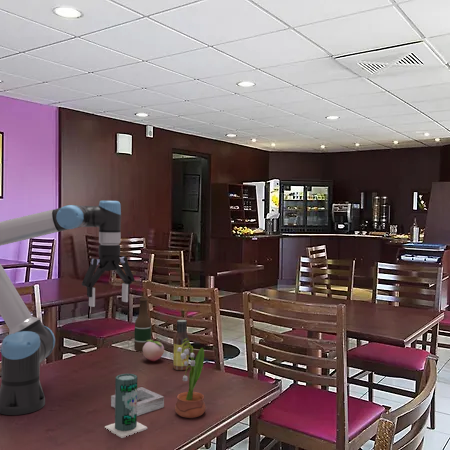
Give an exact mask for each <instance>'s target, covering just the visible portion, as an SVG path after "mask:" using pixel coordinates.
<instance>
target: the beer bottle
mask: <svg viewBox="0 0 450 450" xmlns="http://www.w3.org/2000/svg"><path fill="white" fill-rule="evenodd" d="M138 311H139V312H138V316H137V317H136V319H135V322H134V337H133V338H134V340H133V341H134V344H133V345H134V351H136V352H139V353H143V346H144V345H145V344H146V343H147V342H148V341H147V340H152V320H151V318H150V317H149V315H148V298H147V297H141V298H139V310H138ZM146 341H147V342H146Z"/></svg>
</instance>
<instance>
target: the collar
mask: <svg viewBox="0 0 450 450" xmlns="http://www.w3.org/2000/svg"><path fill="white" fill-rule="evenodd" d="M110 406H111V407H112V408H114V409H115V394H113V395H110ZM164 407H165V396H163V395H162V394H159V393H157V392H154V391H151V390H149V389H147V388H145V387H143V386H141V387H137V417H139V416H141V415H144V414H149V413H151V412H153V411H157V410H160V409H162V408H163V409H164Z"/></svg>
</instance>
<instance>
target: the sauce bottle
mask: <svg viewBox="0 0 450 450" xmlns="http://www.w3.org/2000/svg"><path fill="white" fill-rule="evenodd" d="M187 321H188V320H186V319H178V320H176V328H177V329H176V333H175V334H174V336H173V361H172V362H173V369H174V370H176V371H186V369H187V367H188V366H189V365H188V366H187V365H186V366H185V365H184V362H185V361H187V362H188V363H189V361H190V360H189V358H190V357H187V356H190V353H189V354H187V355H186V358H187V359H185V358H184V359H183V360H182V359H181V354H182V350H181V352H179V351H177V350H178V348H179V347H180V346H181V345H182V344H184V342H185V341H189V342H190V338H189V336H188V332H187V324H188V322H187ZM186 338H188V340H187V339H186ZM184 339H186V340H184ZM183 340H184V341H183ZM182 342H183V343H182ZM187 344H188V342H187V343H185V345H184V348H185V347H186V346H187ZM188 345H189V344H188ZM182 347H183V345H182V346H181V348H182ZM184 348H183V350H185V349H189V350H190V347H187V348H185V349H184ZM183 353H184V351H183ZM187 370H188V369H187Z"/></svg>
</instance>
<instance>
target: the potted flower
mask: <svg viewBox="0 0 450 450" xmlns="http://www.w3.org/2000/svg"><path fill="white" fill-rule="evenodd" d="M188 338H189V337H188ZM188 338H186V339H187V340H188ZM186 339H184V340H186ZM184 340H183V341H184ZM187 342H188V344H189V345H188V344H187V346H186V347H185V348H187V347H189V349H185V348H184V345H185V343H187ZM182 343H183V342H182ZM182 345H183V347H182V348H181V346H182ZM182 345H181V346H180V347H179V348H178V350H177V351H179V352H181V350H182V354H181V359H182V360H183V359H184V358H185V359H187V358H186V355H187V354H189V356H187V357H189V358H190V364H189V361H188V362H187V361H185V362H184V365H185V366H186V365H187V366H188V367H187V369H186V370H185V373H184V375H183V376H182V381H183V382H188V391H184V392H181V393H179V394H177V396H176V398H177V399H176V402H175V406H174V411H175V413H176V415H178V416H180V417H183V418H187V419H194V418H198V417H200V416H202V415H203V414H204V413H205V412H206V410H207V407H206V402H205V401H204V399H205V395H204V394H203V393H201V392H197V391H194V389H195V387H196V385H197V382H198V380H199V379H200V377H201V374H202V370H203V368H204V363H205V362H204V360H205V350H204V347H200V349H199V350H198V352H197V354H196V356H195V353H194V351H193V350H194V347H193V345H191V343H190V340H189V341H185V342H184V344H182ZM183 348H184V349H185V350H183ZM183 351H184V353H183ZM189 368H190V370H189V376H188V375H186V374H187V371H188V369H189Z"/></svg>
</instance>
